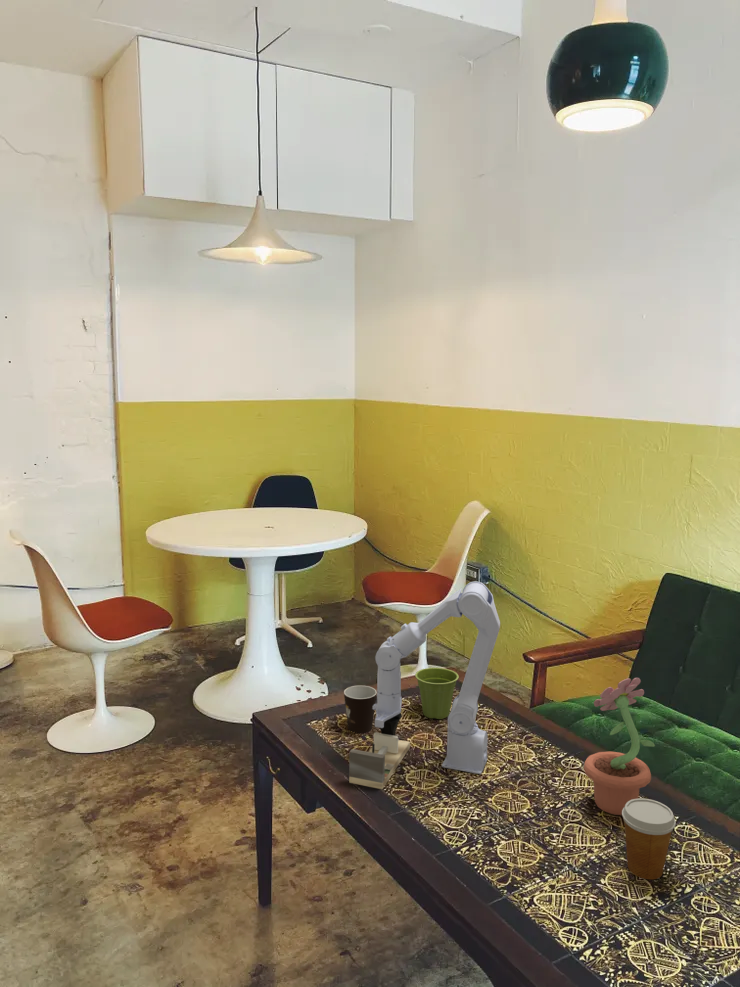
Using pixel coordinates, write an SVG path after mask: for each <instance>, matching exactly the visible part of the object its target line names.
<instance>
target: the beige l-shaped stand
mask: <svg viewBox="0 0 740 987" xmlns="http://www.w3.org/2000/svg"><path fill="white" fill-rule="evenodd" d="M410 748H411V741H408V740H400V739H398V753H397V754H396V753H390V752H387V753H386V754H385V755H382V754H377V753H378V752H379V750H375V752H374V753H372V747H370V749H369V751H365V750H359V749H355V748H354V749H353V748H351V749H350V751H349V753H348V754H349V755H348V756H349V760H348V762H349V766H348V768H349V770H348V772H349V775H348V777H349V779H348V781H349V784H355V785H360V786H364V787H369V788H374V789H379V790H383V789H384V787H385V786H386V784H387V783H388V781H389V780H390V778H391V777H392V776H393V774H394V772H395V771H396V770H397V768H398V766H399V765H400V763H401V762H402V760H403V758H404V757H405V756H406V754H407V753H408V751H409V750H410ZM385 769H388V770H390V771H385Z"/></svg>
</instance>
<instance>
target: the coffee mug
mask: <svg viewBox="0 0 740 987" xmlns="http://www.w3.org/2000/svg"><path fill="white" fill-rule="evenodd" d="M343 696H344V704H345V712H346V722H347V728H348V731H349V730H350V731H349V732H351V731H352V732H351V733H353V732H355V733H354V734H360V733H361V734H367V733H370V732H371V731H372V730H373V725H374V724H373V723H374V716H375V710H374V709H373V705H374V704H376V703H377V689H375V688H374V687H372V686H369V685H352V686H348V687H347V688H346V689H344V690H343ZM366 732H367V733H366Z"/></svg>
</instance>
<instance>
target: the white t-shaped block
mask: <svg viewBox="0 0 740 987" xmlns="http://www.w3.org/2000/svg"><path fill="white" fill-rule="evenodd" d="M398 740H399V736H398V735H395V736H393V735H388V734H382V733H381V732H374V733H373V744H375V750H379V752H378V753H377V754H382V755H385V754H386V753H387V752H390V753H396V754H397V753H398Z"/></svg>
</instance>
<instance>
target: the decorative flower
mask: <svg viewBox="0 0 740 987" xmlns="http://www.w3.org/2000/svg"><path fill="white" fill-rule="evenodd" d="M641 682H642V681H641V679H640V677H634V678H633V679H631V678H625V679H623V680H621V681H620V682H618V683H617V688H615V689H614V688H613V687H611V686H609V687H606V688H605V689H604V690H603V691H601V694H600V695H599V696H600V699H599V698H597V699H595V700H594V701H593V706H594V707H595V708H597V707H600V708H599V710H600V711H603V712H606V711H612V710H616V709H619V710H620V714H621V716H622V720H623V721H622V722H619V723H618V724H617V725H615V726H614V728H612V730H610V733H609V736H613V735H616V734H617V733H619V732H620V731H622V730H623V728H624V726H625V727H626V729H627V732H628V734H629V737H630V742H631V744H630V748H629V751H628V752H626V753H623V752H618V751H617V752H616V751H598V752H596V753H593V754H590V755H588V756H587V758H586V760H585V761H584V765H583V771H584V774H585V775H586V777H588V778H589V780H591V781H593V794H594V796H593V797H594V798H593V799H594V803H595V804H596V806H597V807H598V808H599V809H600V810H601V811H603V812H605V813H607V814H611V815H615V816H622V810H623V808H624V807H625V804H626V803H627V802H628V801H630V800H632V799H638V798H639V796H640V789H641V788H645V787H647V785H649V783H650V782H651V780H652V774H651V770H650V768H649V766H648V764H646V763H645V762H644V761H643V760H641V759H639V758H638V757H637V756H638V754H639V751H640V746H641V745H642V746H644V747H650V748H651V747H656V745H655V743H654V742H653V741H652V740H648V739H640V735H639V733H638V730H637V728H636V725H635V723H634V720H633V717H632V714H631V712H630V709H629V706H630V705H634V704H635V703H637V699H636V697H640V698H641V697H643V696H644V694H645V690H644V689H642V688H641V689H636V688H637V687H638V686H639V685H640V684H641ZM635 689H636V690H635Z"/></svg>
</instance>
